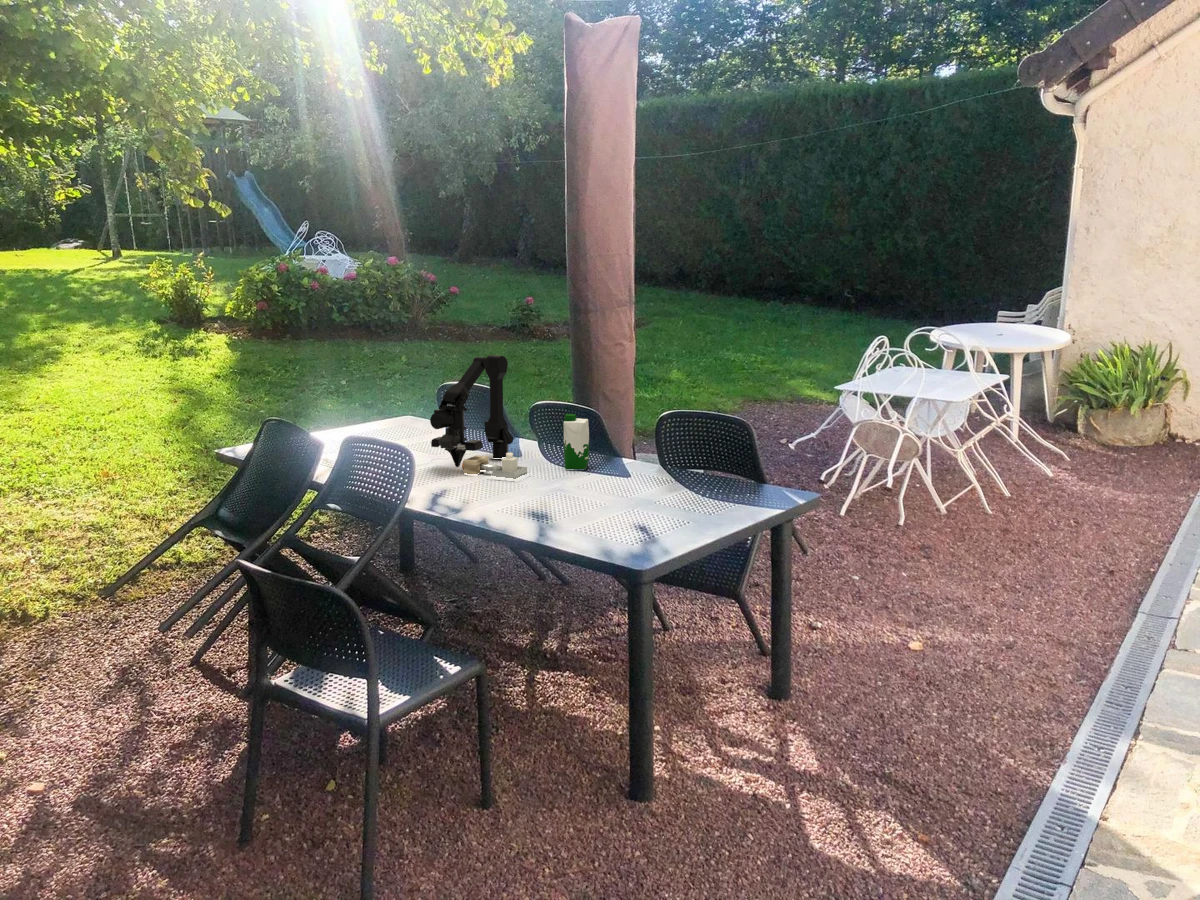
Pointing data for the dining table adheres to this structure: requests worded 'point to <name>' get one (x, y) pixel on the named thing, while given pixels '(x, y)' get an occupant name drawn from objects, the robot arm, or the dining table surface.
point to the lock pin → (486, 467)
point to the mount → (474, 464)
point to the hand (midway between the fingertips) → (457, 466)
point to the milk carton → (576, 442)
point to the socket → (510, 473)
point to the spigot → (509, 463)
